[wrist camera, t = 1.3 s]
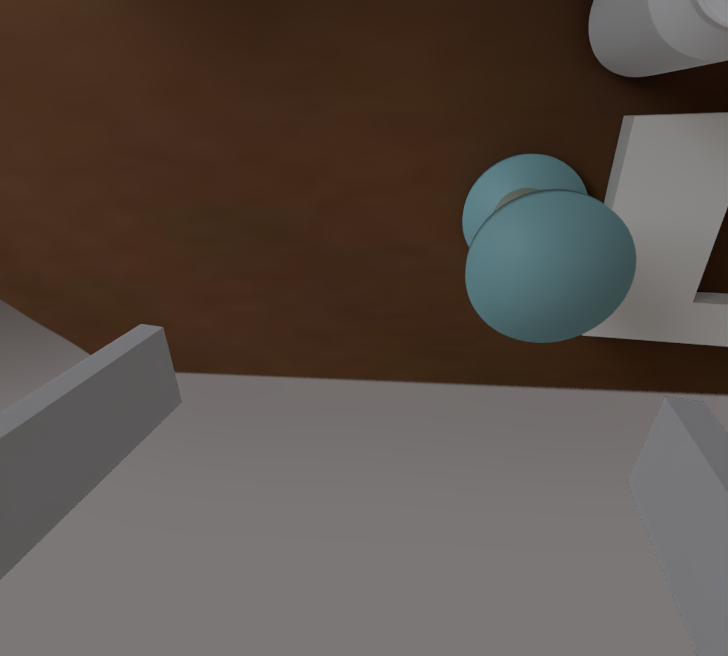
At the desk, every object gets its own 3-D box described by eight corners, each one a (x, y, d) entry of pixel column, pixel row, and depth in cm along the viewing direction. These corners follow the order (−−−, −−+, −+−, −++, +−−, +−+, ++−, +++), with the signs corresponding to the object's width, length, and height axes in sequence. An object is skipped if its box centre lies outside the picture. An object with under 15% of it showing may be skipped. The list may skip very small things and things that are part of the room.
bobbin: (467, 154, 28) (461, 180, 17) (598, 151, 26) (676, 179, 16) (459, 267, 31) (449, 343, 21) (572, 272, 30) (622, 359, 19)
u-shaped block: (623, 115, 25) (634, 115, 23) (921, 105, 21) (960, 105, 20) (576, 323, 31) (582, 335, 29) (800, 338, 28) (821, 353, 26)
